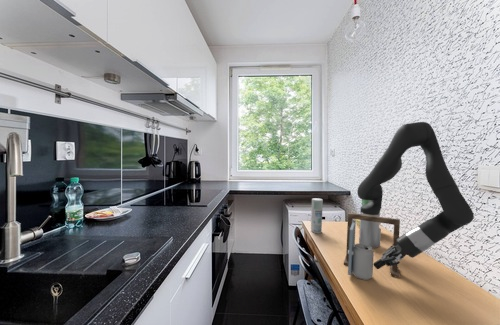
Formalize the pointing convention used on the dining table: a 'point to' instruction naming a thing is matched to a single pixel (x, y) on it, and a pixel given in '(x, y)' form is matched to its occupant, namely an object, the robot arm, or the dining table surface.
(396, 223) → the door frame
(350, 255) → the door
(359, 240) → the robot arm
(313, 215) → the spray can
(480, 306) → the dining table surface
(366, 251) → the can
